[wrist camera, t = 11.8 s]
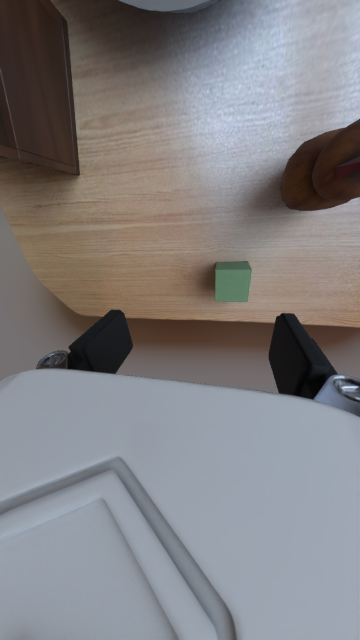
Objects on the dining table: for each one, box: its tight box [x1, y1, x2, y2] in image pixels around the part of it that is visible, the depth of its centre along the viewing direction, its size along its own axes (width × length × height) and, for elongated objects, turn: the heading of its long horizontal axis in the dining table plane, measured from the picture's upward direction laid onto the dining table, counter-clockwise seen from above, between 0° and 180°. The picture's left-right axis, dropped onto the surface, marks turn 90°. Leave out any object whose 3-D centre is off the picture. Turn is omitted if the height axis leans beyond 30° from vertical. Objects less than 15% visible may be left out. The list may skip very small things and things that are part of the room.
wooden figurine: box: [281, 119, 360, 211], centre depth 14 cm, size 7×6×15 cm
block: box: [215, 261, 252, 302], centre depth 26 cm, size 4×4×4 cm
